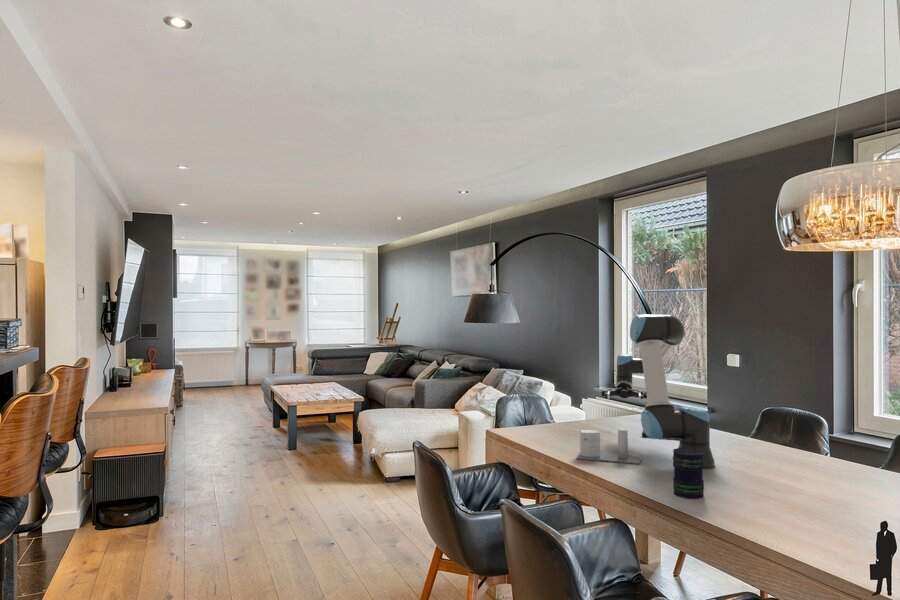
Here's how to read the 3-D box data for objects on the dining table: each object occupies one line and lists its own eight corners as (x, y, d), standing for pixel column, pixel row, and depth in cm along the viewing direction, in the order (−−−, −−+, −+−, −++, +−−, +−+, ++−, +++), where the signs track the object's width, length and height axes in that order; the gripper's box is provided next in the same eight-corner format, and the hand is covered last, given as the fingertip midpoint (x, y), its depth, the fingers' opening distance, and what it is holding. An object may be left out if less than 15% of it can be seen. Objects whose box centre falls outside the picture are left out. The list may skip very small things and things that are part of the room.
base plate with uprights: (640, 457, 251) (640, 428, 251) (639, 464, 240) (639, 433, 240) (579, 452, 259) (579, 424, 260) (576, 459, 248) (576, 429, 248)
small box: (598, 454, 255) (598, 430, 255) (600, 457, 249) (600, 432, 249) (580, 453, 255) (579, 429, 256) (581, 456, 250) (581, 432, 250)
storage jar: (685, 500, 194) (685, 455, 194) (667, 491, 203) (666, 449, 203) (710, 497, 196) (710, 453, 197) (690, 489, 206) (690, 447, 206)
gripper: (651, 398, 277) (653, 407, 256) (597, 395, 284) (595, 404, 264) (651, 383, 276) (653, 391, 256) (597, 380, 284) (595, 388, 263)
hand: (624, 397), depth 260 cm, fingers open, 13 cm apart
